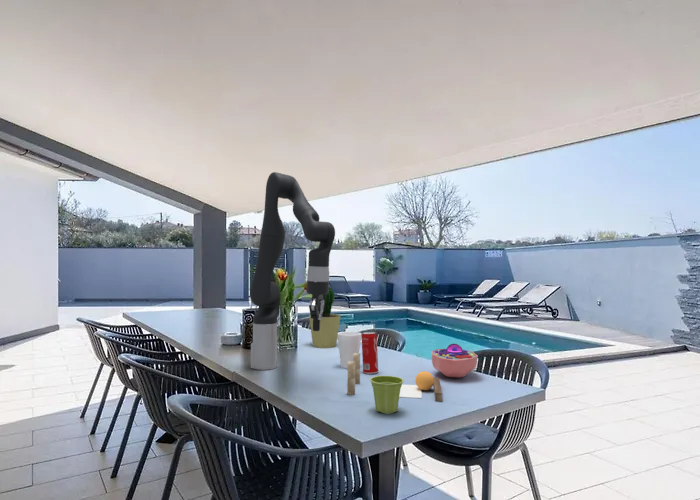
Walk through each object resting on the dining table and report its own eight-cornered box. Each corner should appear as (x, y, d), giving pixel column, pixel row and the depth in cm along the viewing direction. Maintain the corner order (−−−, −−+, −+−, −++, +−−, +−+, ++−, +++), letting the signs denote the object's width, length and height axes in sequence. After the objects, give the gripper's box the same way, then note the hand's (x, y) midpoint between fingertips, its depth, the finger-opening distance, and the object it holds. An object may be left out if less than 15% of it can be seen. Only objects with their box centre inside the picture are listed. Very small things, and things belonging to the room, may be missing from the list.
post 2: (352, 383, 157) (352, 354, 157) (353, 381, 159) (353, 352, 159) (359, 384, 156) (359, 354, 157) (360, 382, 159) (360, 353, 159)
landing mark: (376, 395, 143) (376, 395, 143) (379, 383, 157) (379, 383, 157) (421, 398, 141) (421, 397, 141) (421, 386, 155) (421, 385, 155)
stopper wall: (435, 401, 139) (435, 392, 139) (433, 385, 156) (433, 377, 157) (442, 401, 138) (442, 393, 138) (439, 385, 156) (439, 377, 156)
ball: (414, 390, 148) (417, 372, 148) (413, 385, 154) (416, 367, 154) (432, 394, 147) (436, 376, 147) (431, 389, 153) (434, 371, 153)
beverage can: (377, 375, 169) (377, 334, 169) (359, 373, 170) (360, 333, 171) (379, 371, 175) (379, 331, 175) (362, 370, 176) (363, 330, 176)
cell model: (425, 380, 163) (425, 348, 163) (436, 367, 182) (436, 339, 182) (474, 385, 157) (474, 352, 157) (480, 372, 175) (480, 342, 176)
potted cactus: (304, 348, 218) (305, 284, 218) (312, 342, 233) (313, 283, 233) (336, 349, 215) (337, 285, 216) (342, 343, 230) (343, 283, 231)
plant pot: (367, 405, 134) (368, 375, 134) (399, 404, 135) (400, 375, 135) (372, 416, 125) (372, 384, 125) (406, 415, 126) (406, 383, 126)
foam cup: (343, 370, 176) (344, 336, 176) (333, 365, 184) (333, 332, 184) (365, 367, 180) (365, 334, 180) (354, 362, 188) (354, 331, 188)
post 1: (346, 394, 144) (347, 362, 144) (347, 392, 146) (348, 361, 146) (354, 395, 144) (354, 363, 144) (355, 393, 146) (355, 361, 146)
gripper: (312, 278, 164) (310, 327, 164) (302, 280, 151) (300, 333, 151) (332, 279, 163) (331, 328, 163) (324, 281, 150) (322, 334, 150)
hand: (316, 330), depth 157 cm, fingers closed
